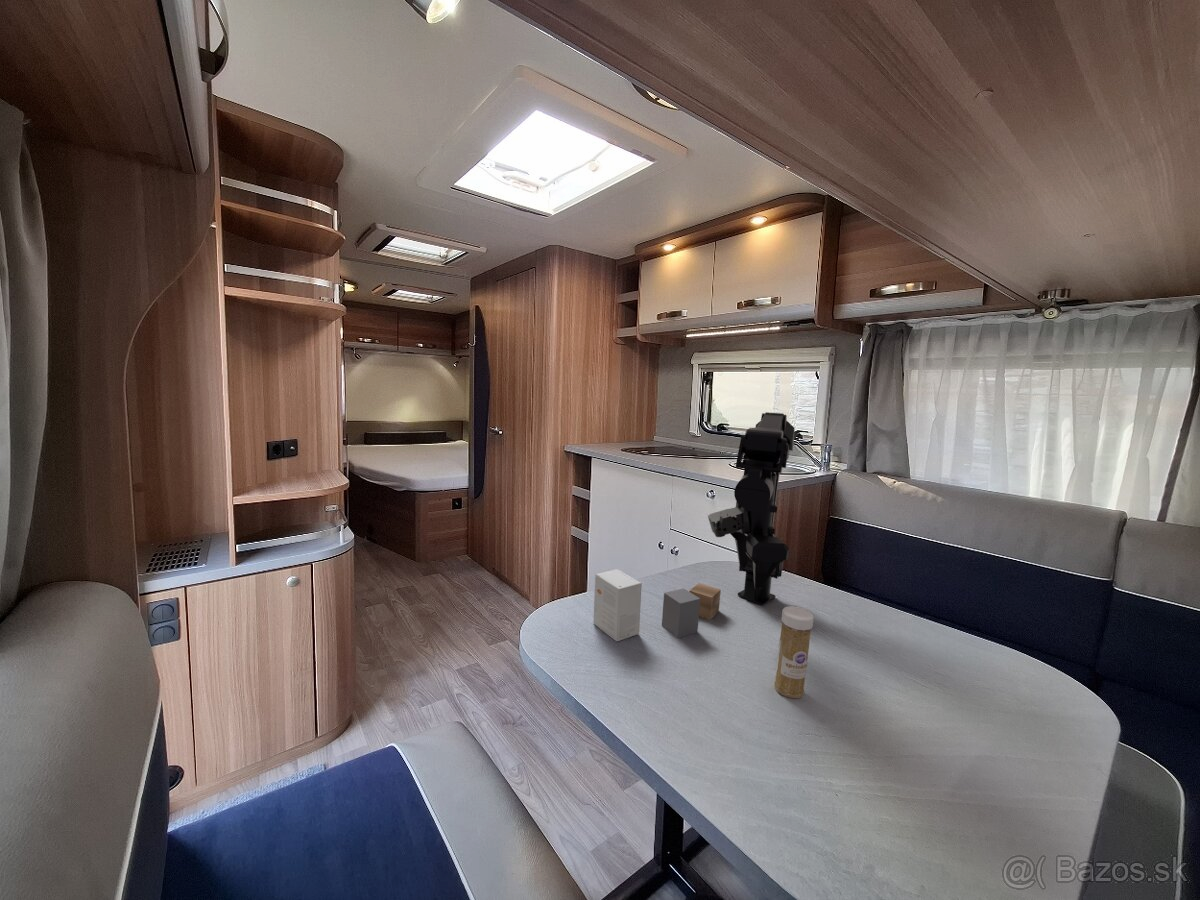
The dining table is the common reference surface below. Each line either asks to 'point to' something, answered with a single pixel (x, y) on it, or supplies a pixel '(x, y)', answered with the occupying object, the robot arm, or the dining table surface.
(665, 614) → the gray block
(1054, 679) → the dining table surface
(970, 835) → the dining table surface
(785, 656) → the sprinkles bottle
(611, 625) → the small box
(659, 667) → the dining table surface
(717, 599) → the walnut cube
